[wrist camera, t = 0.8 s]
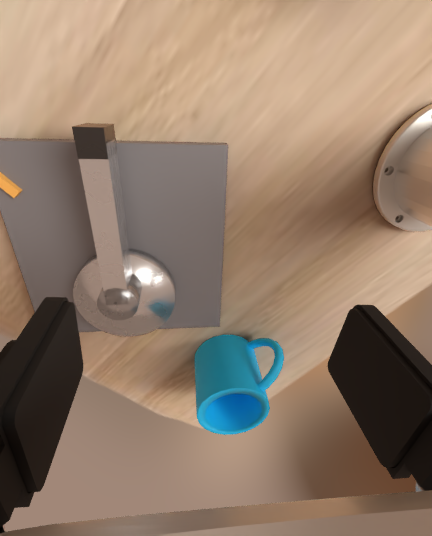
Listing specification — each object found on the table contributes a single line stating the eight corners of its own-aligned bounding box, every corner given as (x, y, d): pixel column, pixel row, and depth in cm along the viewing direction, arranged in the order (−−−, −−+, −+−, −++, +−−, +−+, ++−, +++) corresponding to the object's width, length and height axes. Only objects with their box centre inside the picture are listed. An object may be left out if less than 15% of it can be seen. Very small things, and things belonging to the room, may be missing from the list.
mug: (220, 386, 43) (227, 442, 36) (181, 357, 39) (181, 413, 32) (289, 342, 40) (312, 395, 33) (254, 307, 36) (271, 357, 29)
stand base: (226, 143, 26) (229, 146, 25) (218, 318, 36) (220, 329, 34) (-18, 137, 24) (-34, 140, 23) (44, 324, 34) (36, 337, 32)
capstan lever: (168, 124, 24) (164, 129, 20) (176, 325, 34) (176, 355, 30) (37, 120, 23) (6, 125, 19) (87, 328, 33) (74, 360, 29)
